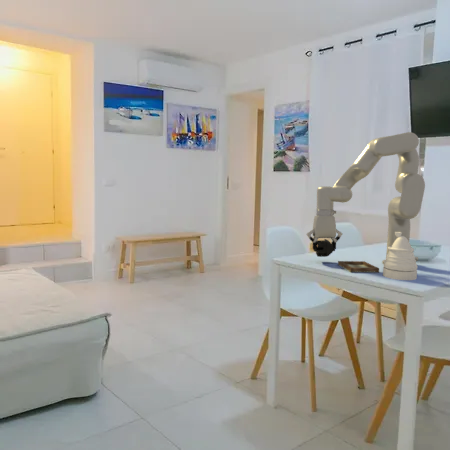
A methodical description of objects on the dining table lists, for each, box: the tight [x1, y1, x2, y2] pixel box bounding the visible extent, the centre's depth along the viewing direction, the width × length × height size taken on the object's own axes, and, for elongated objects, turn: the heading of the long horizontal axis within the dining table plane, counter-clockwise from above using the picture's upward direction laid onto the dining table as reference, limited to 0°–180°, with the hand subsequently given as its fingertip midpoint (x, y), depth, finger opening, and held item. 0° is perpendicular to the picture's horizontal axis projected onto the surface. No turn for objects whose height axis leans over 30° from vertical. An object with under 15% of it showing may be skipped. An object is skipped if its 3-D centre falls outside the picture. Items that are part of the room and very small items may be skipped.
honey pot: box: [382, 232, 418, 281], centre depth 180 cm, size 13×13×18 cm
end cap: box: [315, 238, 334, 258], centre depth 206 cm, size 10×7×7 cm
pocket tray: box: [337, 260, 380, 273], centre depth 195 cm, size 12×15×2 cm
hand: (324, 250), depth 207 cm, fingers closed on end cap, 8 cm apart
